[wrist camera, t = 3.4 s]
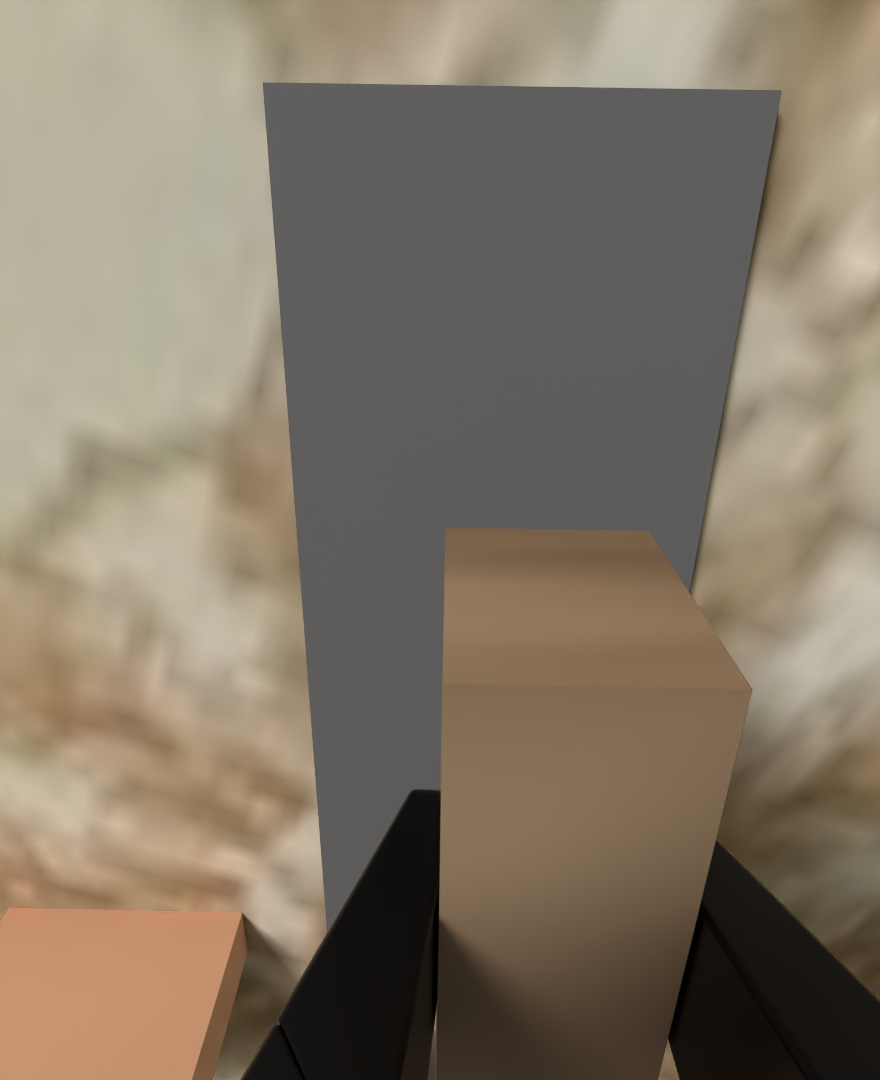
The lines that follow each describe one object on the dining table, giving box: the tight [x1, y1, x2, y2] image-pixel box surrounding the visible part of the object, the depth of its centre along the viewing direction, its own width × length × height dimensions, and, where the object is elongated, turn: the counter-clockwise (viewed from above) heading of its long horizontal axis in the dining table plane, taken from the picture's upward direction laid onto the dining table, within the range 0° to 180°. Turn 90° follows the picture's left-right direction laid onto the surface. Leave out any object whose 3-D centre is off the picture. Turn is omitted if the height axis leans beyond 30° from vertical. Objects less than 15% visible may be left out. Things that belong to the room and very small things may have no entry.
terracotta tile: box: [0, 908, 248, 1080], centre depth 20 cm, size 2×8×9 cm, turn 89°
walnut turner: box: [427, 527, 752, 1080], centre depth 10 cm, size 14×5×3 cm, turn 179°
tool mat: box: [263, 83, 781, 932], centre depth 19 cm, size 26×10×1 cm, turn 179°
